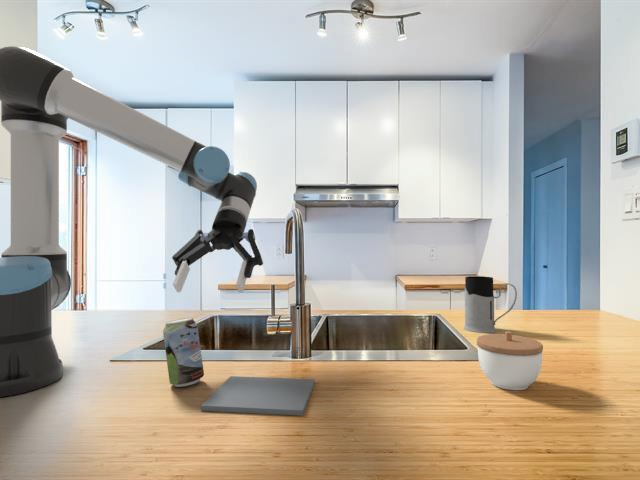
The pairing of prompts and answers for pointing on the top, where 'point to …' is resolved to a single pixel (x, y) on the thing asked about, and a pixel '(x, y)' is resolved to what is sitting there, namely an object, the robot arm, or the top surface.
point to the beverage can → (183, 352)
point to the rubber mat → (261, 396)
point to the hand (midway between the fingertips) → (207, 288)
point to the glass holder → (481, 304)
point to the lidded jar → (510, 360)
